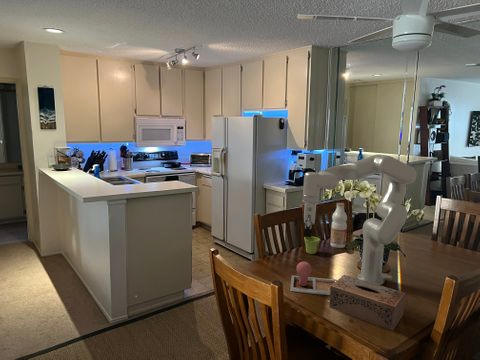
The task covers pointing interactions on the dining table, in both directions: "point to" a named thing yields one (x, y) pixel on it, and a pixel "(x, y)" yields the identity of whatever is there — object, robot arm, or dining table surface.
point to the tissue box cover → (367, 301)
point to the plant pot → (311, 244)
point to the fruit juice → (339, 227)
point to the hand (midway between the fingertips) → (307, 233)
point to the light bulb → (303, 272)
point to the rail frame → (314, 285)
